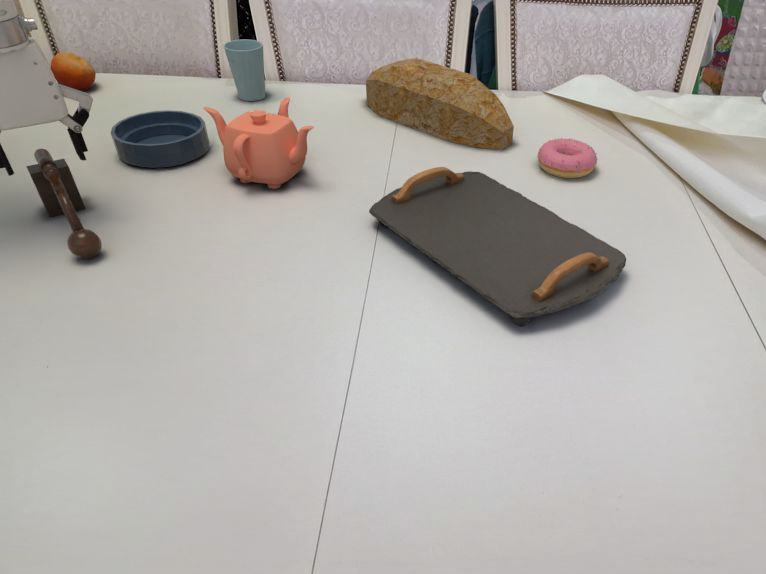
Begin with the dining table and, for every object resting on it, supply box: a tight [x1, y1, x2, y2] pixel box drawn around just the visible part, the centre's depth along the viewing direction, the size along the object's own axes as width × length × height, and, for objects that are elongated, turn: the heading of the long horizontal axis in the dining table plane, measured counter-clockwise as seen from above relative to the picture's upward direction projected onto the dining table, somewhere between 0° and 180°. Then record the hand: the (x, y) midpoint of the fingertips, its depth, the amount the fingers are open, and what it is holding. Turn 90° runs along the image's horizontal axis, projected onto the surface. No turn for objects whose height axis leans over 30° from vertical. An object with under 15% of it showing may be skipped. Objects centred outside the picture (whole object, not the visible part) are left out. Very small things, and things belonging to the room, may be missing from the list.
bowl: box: [110, 109, 211, 169], centre depth 109 cm, size 15×15×4 cm
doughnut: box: [536, 137, 598, 179], centre depth 112 cm, size 11×11×4 cm
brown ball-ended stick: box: [33, 148, 103, 260], centre depth 87 cm, size 20×4×9 cm, turn 37°
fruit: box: [50, 52, 97, 92], centre depth 129 cm, size 8×8×8 cm
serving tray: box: [368, 166, 627, 327], centre depth 90 cm, size 39×23×6 cm, turn 41°
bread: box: [365, 57, 515, 151], centre depth 124 cm, size 36×11×10 cm, turn 53°
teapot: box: [203, 97, 315, 189], centre depth 102 cm, size 14×14×11 cm
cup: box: [223, 38, 267, 102], centre depth 129 cm, size 8×8×10 cm
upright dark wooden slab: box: [25, 158, 86, 218], centre depth 92 cm, size 3×5×7 cm, turn 127°
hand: (46, 163), depth 88 cm, fingers open, 8 cm apart
